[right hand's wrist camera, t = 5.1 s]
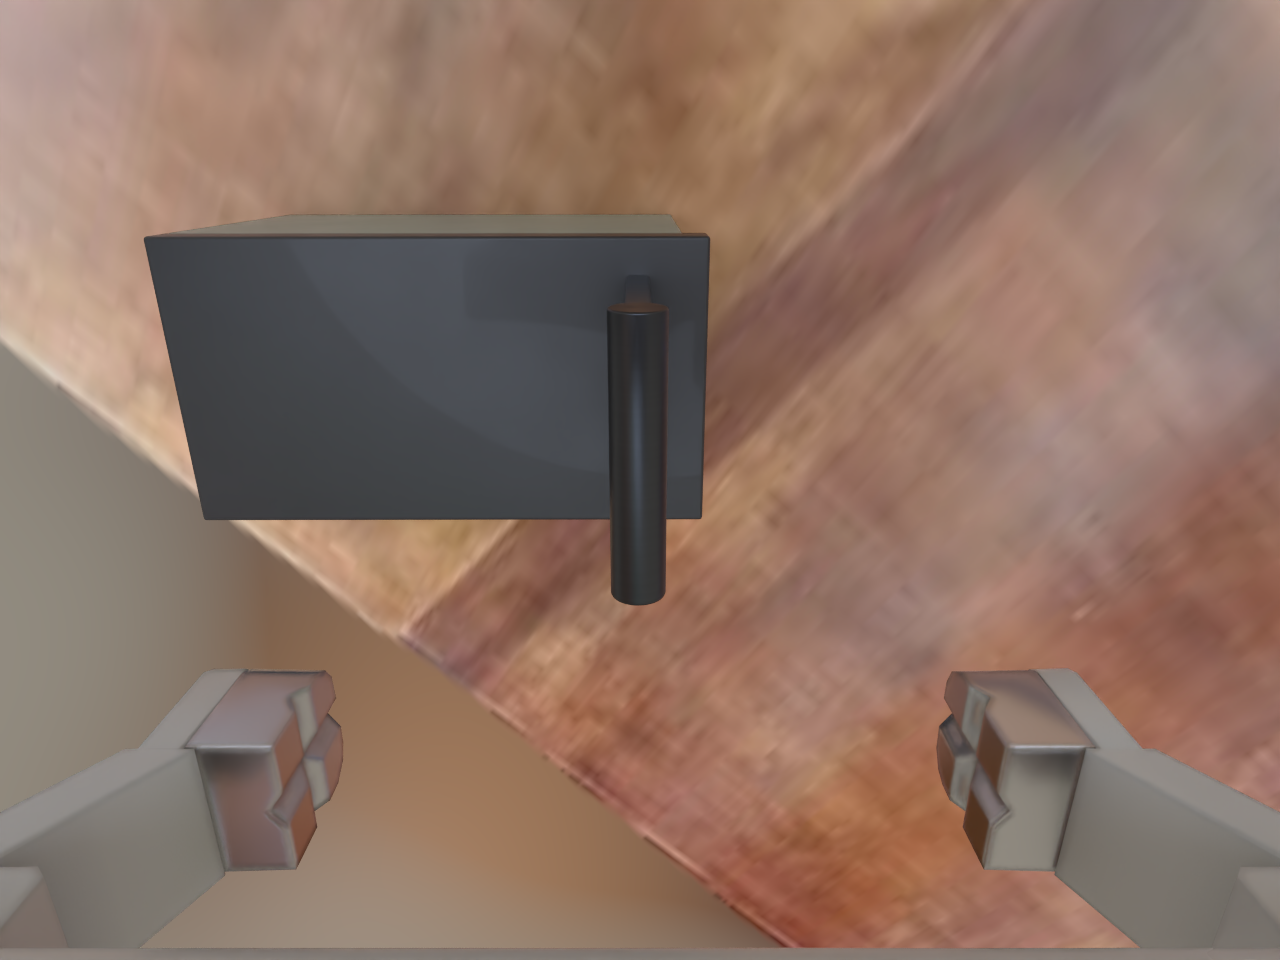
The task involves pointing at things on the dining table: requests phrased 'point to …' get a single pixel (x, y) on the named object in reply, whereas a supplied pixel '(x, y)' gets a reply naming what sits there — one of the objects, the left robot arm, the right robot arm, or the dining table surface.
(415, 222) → the chest
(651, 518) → the lid
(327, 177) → the dining table surface
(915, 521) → the dining table surface
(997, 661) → the dining table surface
